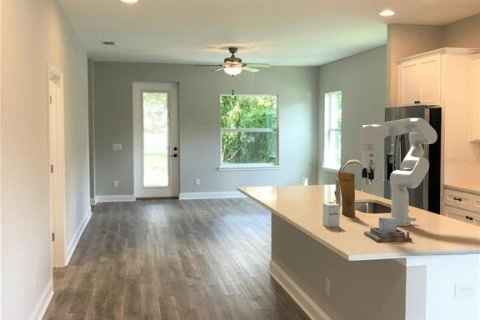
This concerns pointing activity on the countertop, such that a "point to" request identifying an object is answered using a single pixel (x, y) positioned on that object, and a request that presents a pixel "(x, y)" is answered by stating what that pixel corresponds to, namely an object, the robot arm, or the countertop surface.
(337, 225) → the supplement box
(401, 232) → the carrier board
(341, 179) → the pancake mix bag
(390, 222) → the medicine box
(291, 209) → the countertop surface
